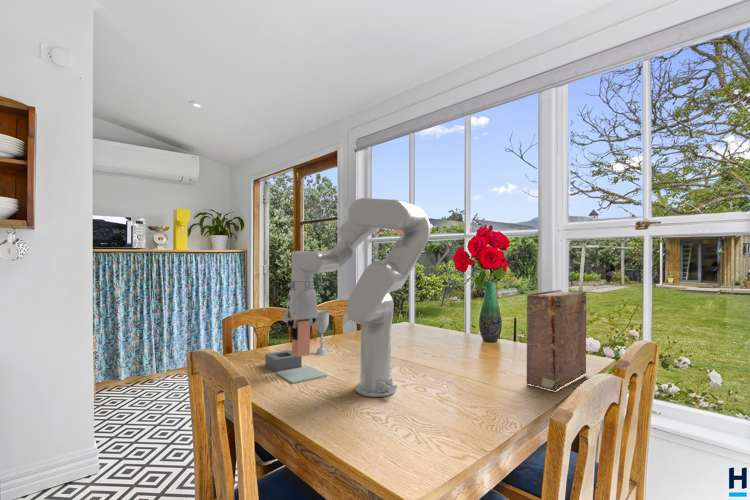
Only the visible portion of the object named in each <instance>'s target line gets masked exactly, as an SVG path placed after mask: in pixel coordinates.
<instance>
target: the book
mask: <svg viewBox="0 0 750 500" xmlns="http://www.w3.org/2000/svg"><path fill="white" fill-rule="evenodd" d="M585 373H586V374H587V291H582V292H573V291H572V292H571V291H562V290H561V289H554V290H547V291H542V292H536V293H535V292H534V293H528V294H526V385H527V384H531V385H534V386H539V387H542V388H546V389H550V390H553V391H556V390H557V389H559V388H560V387H562V386H564V385H565V384H567V383H569V382H571V381H573V380H575V379H576V378H578V377H580V376H581V375H583V374H585Z"/></svg>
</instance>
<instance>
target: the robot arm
mask: <svg viewBox="0 0 750 500" xmlns="http://www.w3.org/2000/svg"><path fill="white" fill-rule="evenodd" d="M347 215H348V219H346V221H345V222H343V224H342V225H340V226H339V228H338V235H339V237H340V240H339V241H338V243H337V244H336V245H334V247H332V248H331V249H330V250H311V251H309V250H308V251H307V250H295V251H293V252H292V254H291V281H290V283H287V287H288V288H290V289H289V292H288V294H287V295H288V296H287V301H286V311H285V313H284V314H283V316H282V317H281V320H282V322H284V323H286V324H287V325H288V326H289V327H290V337H291V340H292V339H294V340H297V328H296V325H297V321H298V320H301V319H307V320H310V339H311V338H312V337H311V335H312V327H313V326H314V324H315V321H316V320H317V319H318V318H319V317H320V314H319V313H318V311H317V310H318V299H317V293H316V292H317V291H316V289H314V274H321V273H331V272H332V273H333V272H335V271H337V270H339V269H340V268H342V267H343V266H344V265H345V264H346V263H348V262H349V261H350V260H351V259H352V257H353V256H354V254H355V253H356V250H357V249H358V248H357V247H358V246H360V244H362V243H363V242H365V240H366V239H368V237H370V236H371V235H372V234H374V232H376V231H377V230H378V229H383V230H385V229H386V230H394V231H400V232H402V233H401V235H400V236H399V238H398V239H397V240H396V241H395V243H394V244H393V246H392V247H391V249H390V251H389V253H388V254H387V256H386V258H385V259H383V260H376V261H373V262H372V263H369V265H367V267H366V268H365V269H364V270H363V272H362V274H361V275H360V277H359V279H358V281H357V283H356V284H355V286H354V288H353V290H352V292H351V294H350V295H349V297H348V300H347V303H346V313H347V315H348V317H349V319H350V320H351V321H352V322H353V323H355V324H359V325H361V328H360V330H361V331H360V381H359V382H358V383H357V384H356V385H355V392H356V393H357V394H358V395H361V396H364V397H371V398H385V397H389V396H391V395H392V394H394V393H396V390H397V388H398V386H397V385H396V384H394V383H393V377H391V376H392V373H391V371H392V367H391V365H392V326H393V325H392V323H393V319H394V318H393V317H394V309H395V304H394V302H395V301H394V299H393V297H392V295H391V294H390V293H391V292H395V291H399V290H400V289H402V288H403V286H404V285H405V283H406V281H407V280H408V278H409V276H410V275H411V272H412V271H413V270H414V268H415V265H416V264H417V262H418V260H419V258H420V257H421V255H422V253H423V251H424V250H425V248H426V246H427V244H428V242H429V239H430V235H431V224H430V221H429V217H428V215H427V214H426V212H425V211H424V210H423V209H422V208H420V206H418V205H415V204H413V203H411V202H406V201H403V200H399V199H389V198H388V199H387V198H386V199H384V198H371V197H369V198H367V197H361V198H357V199H355V200H353V202H352V203H351V204H350V206H349V208H348V210H347Z"/></svg>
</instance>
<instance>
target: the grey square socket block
mask: <svg viewBox="0 0 750 500" xmlns="http://www.w3.org/2000/svg"><path fill="white" fill-rule="evenodd" d="M302 357H303V356H299V357H297V356H296V355H294V354H292V349H289V350H283V351H282V350H281V351H277V352H269V353H265V361H264V363H265V365H264V366H265V367H266V368H268V369H269V370H271V371H273V372H275V373H276V372H280V371H285V370H290V369H295V368H301V367H302V359H303V358H302Z"/></svg>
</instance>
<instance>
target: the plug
mask: <svg viewBox="0 0 750 500" xmlns="http://www.w3.org/2000/svg"><path fill="white" fill-rule="evenodd" d="M296 328H297V340H294V339H292V338H291V340H292V343H291V351H292V354H294V355H296V356H297V357H299V356H302V357H305V356H309V355H310V354H311V353H310V350H311V346H310V345H311V343H310V342H311V338H310V320H307V319H301V320H298V321H297V325H296Z"/></svg>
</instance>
